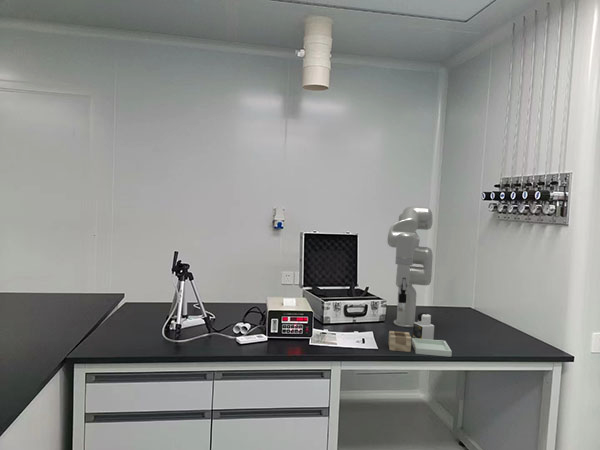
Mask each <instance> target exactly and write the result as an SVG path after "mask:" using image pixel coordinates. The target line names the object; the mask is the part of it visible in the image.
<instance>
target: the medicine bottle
mask: <svg viewBox="0 0 600 450" xmlns="http://www.w3.org/2000/svg"><path fill="white" fill-rule="evenodd" d="M431 319H432V315H431V314H429V313H426V312H420V313H418V314H417V321H415V322H414V326H413V327H412V331H413V332H412V338H418V339H430V340H435V338H434V336H435V335H434V334H435V325H434V324H432V323H431V322H432V321H431Z"/></svg>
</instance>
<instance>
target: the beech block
mask: <svg viewBox="0 0 600 450" xmlns="http://www.w3.org/2000/svg"><path fill="white" fill-rule="evenodd" d="M388 347H389V348H388V349H389V351H398V352H406V353H407V352H408V353H411V352H412V351H411V350H412V336H411V334H410V332H407V331H405V332H404V331H394V330H389V332H388Z"/></svg>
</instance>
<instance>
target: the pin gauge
mask: <svg viewBox="0 0 600 450" xmlns="http://www.w3.org/2000/svg"><path fill="white" fill-rule="evenodd" d="M401 287H403V286H401ZM401 289H402V288H401ZM399 294H400V286H399ZM399 294H398V293H397V307H398V311H400V312H404V311H405V303H399Z"/></svg>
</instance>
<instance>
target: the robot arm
mask: <svg viewBox="0 0 600 450" xmlns="http://www.w3.org/2000/svg"><path fill="white" fill-rule="evenodd" d="M433 221H434V220H433V211H432V210H431V209H430V208H429V207H425V206H408V207H407V206H406V207H405V208H404V209H403V210H402V213H400V214H399V216H398V221H397V222H395V223H393V224H392V225H391V226H390V228H389V230H388V234H387V245H388V246H389V247H391V248H395V265H397V267H396V275H395V276H396V277H395V285H396V287H397V288H398V290H397V295H398V294H399V286H400V294H399V303H405V311H404V312H400V311H398V306H396V307H397V308H396V309H397V312H396V319H394V320H393V324H394V325H396V326H398V327H401V328H413V326H414V322H416V308H417V291H416V289H415V288H414V286H413V285H415V286H417V285H418V286H428V285H431V283H432V275H433V274H432V273H433V251H432V248H430V247H428V246H420V240H421V239H420V236H419V234H418V232H417V230H430V229H432V226H433ZM414 265H422V266H414ZM401 286H403V287H401ZM401 288H402V289H401Z"/></svg>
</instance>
